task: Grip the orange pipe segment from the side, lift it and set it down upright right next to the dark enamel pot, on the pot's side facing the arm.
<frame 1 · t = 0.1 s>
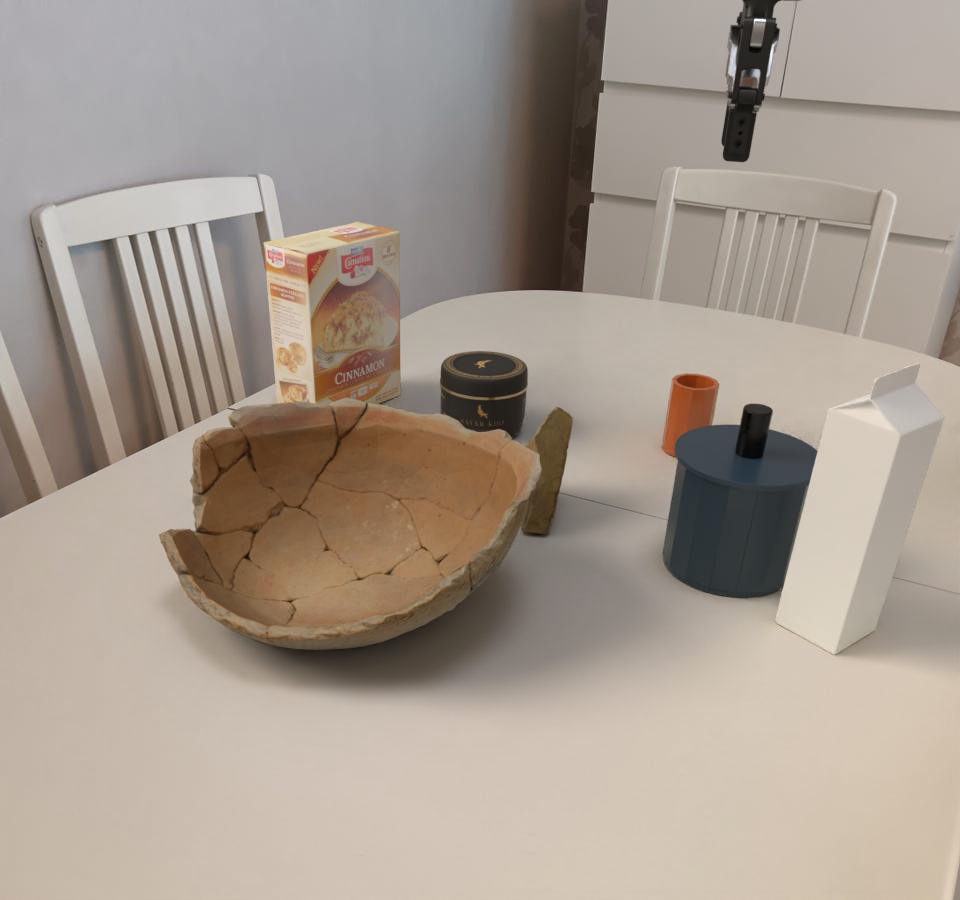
hand: (733, 153, 86), 31 cm above the table, tool pointing down, fingers open, 8 cm apart
milk: (823, 628, 81), on the table
coffeecake box: (341, 406, 118), on the table
jar: (481, 429, 113), on the table
ceramic bowl: (357, 590, 84), on the table
pot lid: (747, 458, 83), point 10 cm above the table, touching pot
rock: (527, 512, 97), on the table
orange pipe segment: (684, 449, 110), on the table
pot: (725, 563, 89), on the table
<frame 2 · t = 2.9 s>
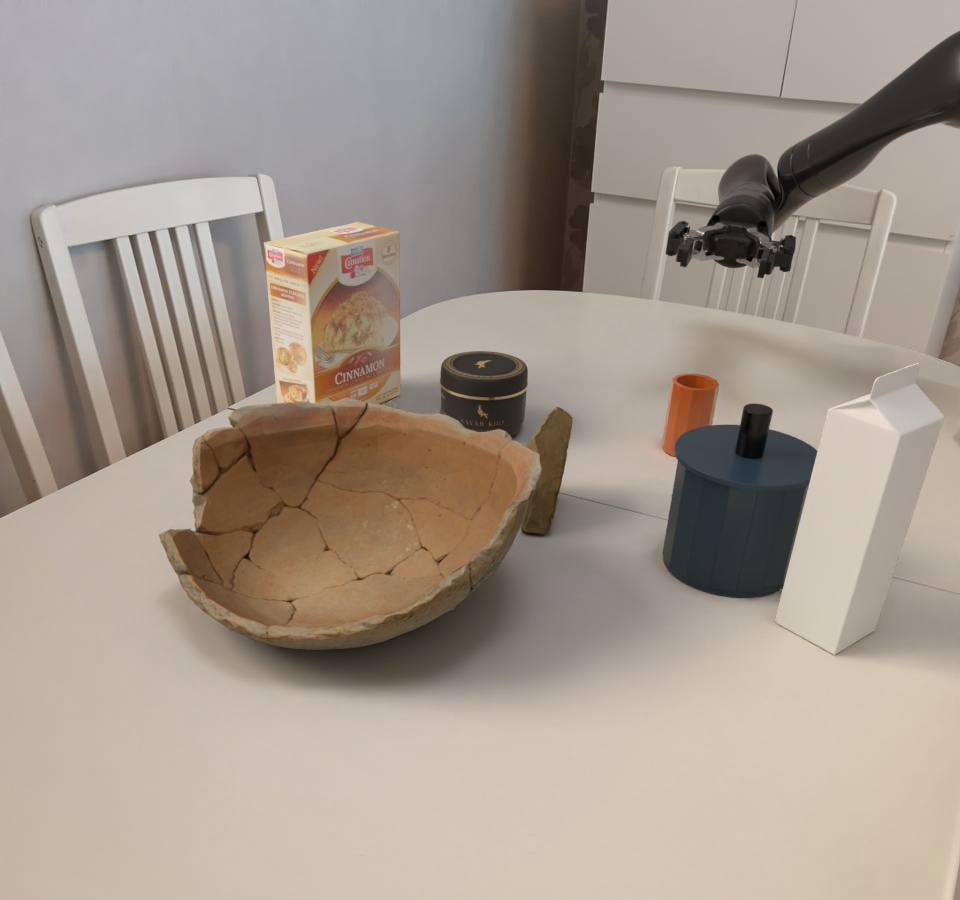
hand: (723, 263, 106), 18 cm above the table, tool horizontal, fingers open, 8 cm apart
nothing on the table moved.
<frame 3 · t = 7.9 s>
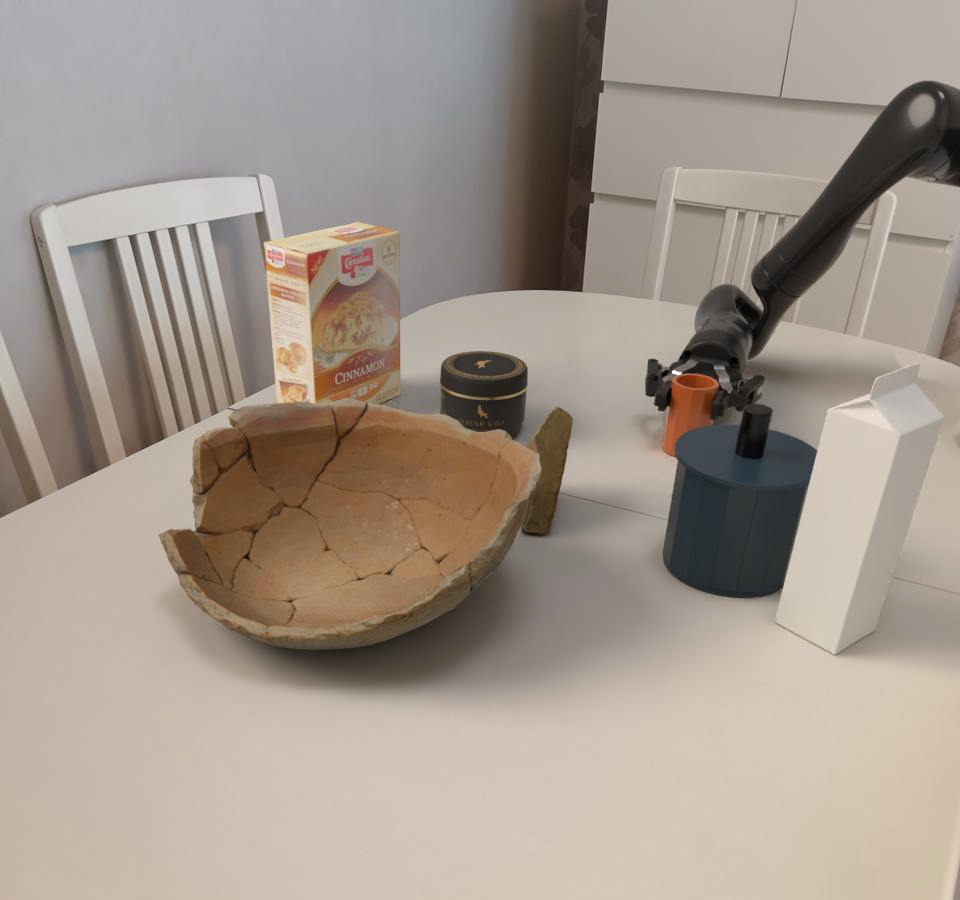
hand: (688, 407, 105), 6 cm above the table, tool horizontal, fingers closed on orange pipe segment, 5 cm apart
orange pipe segment: (684, 449, 110), on the table, touching gripper
everything else where it was.
when the fingers open (6 cm above the table, at t = 15.4 s): orange pipe segment stays where it is, on the table.
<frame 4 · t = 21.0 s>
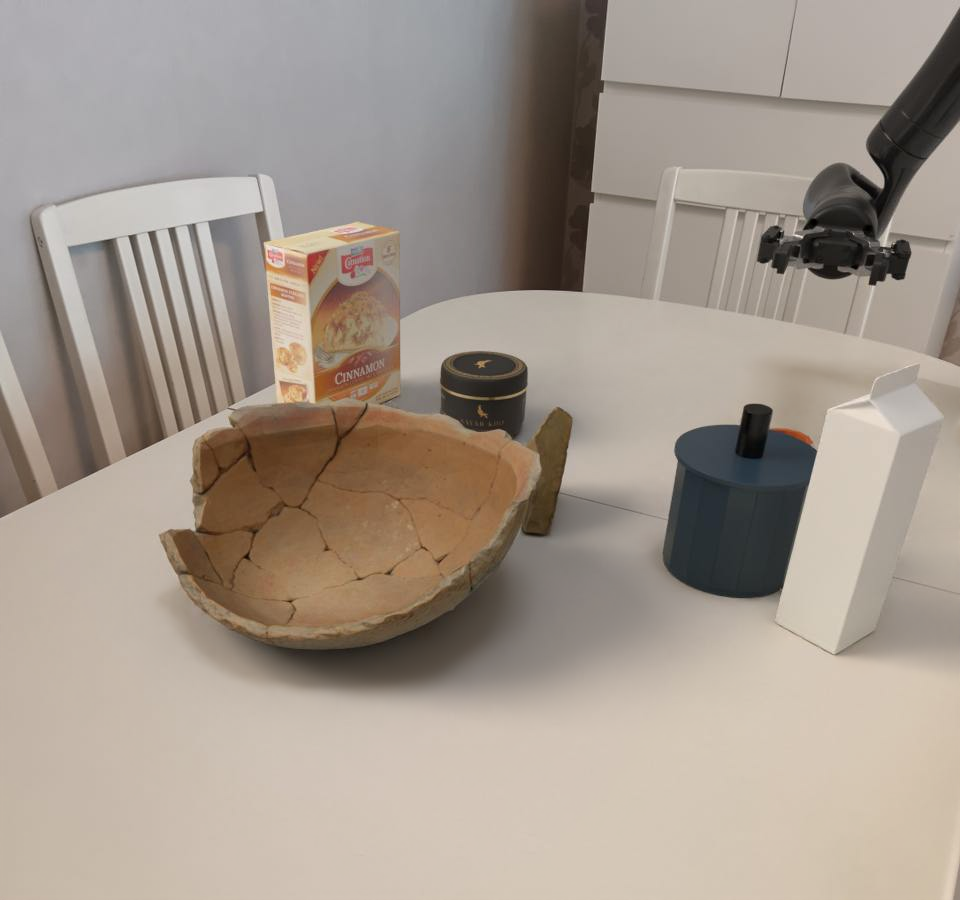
hand: (828, 268, 92), 22 cm above the table, tool horizontal, fingers open, 8 cm apart
orange pipe segment: (768, 512, 98), on the table
everything else where it was.
at the end: orange pipe segment inside the target area on the table beside the pot (0.1 cm from its centre), on the table; orange pipe segment tilted 0°; orange pipe segment moved 16.0 cm from its start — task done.
